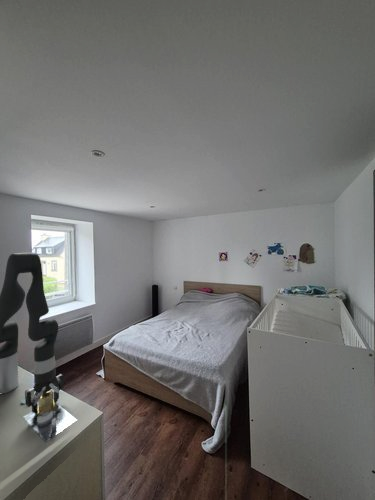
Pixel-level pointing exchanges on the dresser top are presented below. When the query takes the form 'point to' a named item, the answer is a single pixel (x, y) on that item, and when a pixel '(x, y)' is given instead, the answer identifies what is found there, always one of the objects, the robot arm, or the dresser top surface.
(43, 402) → the brass octagonal tube
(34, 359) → the robot arm
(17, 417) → the dresser top surface
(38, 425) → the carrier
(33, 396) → the pacifier
